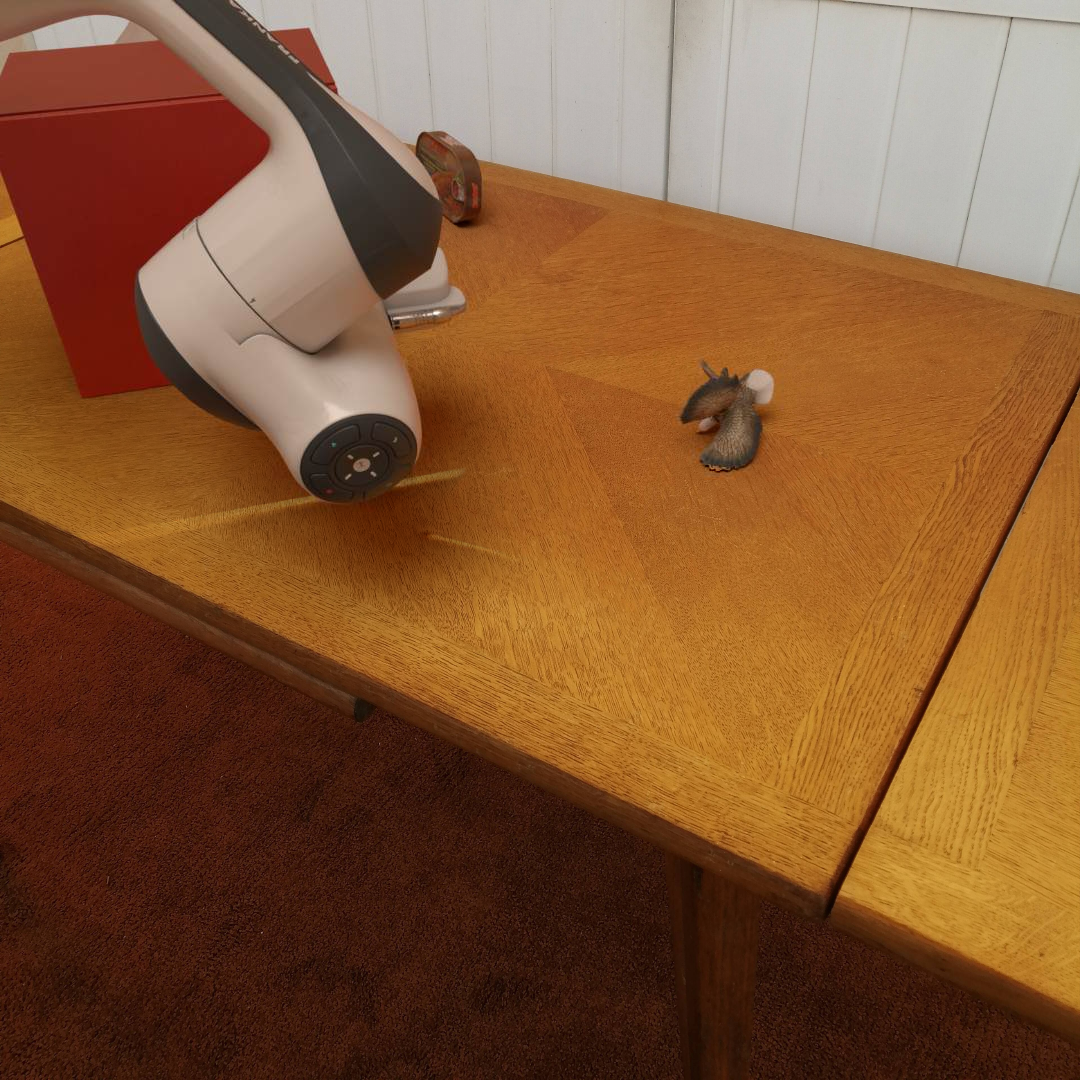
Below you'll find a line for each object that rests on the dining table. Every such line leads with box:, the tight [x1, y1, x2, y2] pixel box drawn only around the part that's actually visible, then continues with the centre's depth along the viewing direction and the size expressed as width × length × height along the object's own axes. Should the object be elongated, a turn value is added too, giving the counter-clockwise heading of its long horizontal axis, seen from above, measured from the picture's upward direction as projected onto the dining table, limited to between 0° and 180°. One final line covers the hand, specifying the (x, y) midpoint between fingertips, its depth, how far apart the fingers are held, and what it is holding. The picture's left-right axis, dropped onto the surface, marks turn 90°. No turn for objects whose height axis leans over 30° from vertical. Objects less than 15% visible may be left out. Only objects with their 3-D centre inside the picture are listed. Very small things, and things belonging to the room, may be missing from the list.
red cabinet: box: [0, 27, 336, 117], centre depth 92 cm, size 18×26×24 cm
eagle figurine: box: [679, 359, 775, 469], centre depth 82 cm, size 8×7×9 cm
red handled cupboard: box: [0, 84, 339, 399], centre depth 83 cm, size 6×26×24 cm, turn 107°
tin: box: [414, 130, 483, 224], centre depth 120 cm, size 15×3×8 cm, turn 27°
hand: (304, 253), depth 79 cm, fingers open, 8 cm apart
